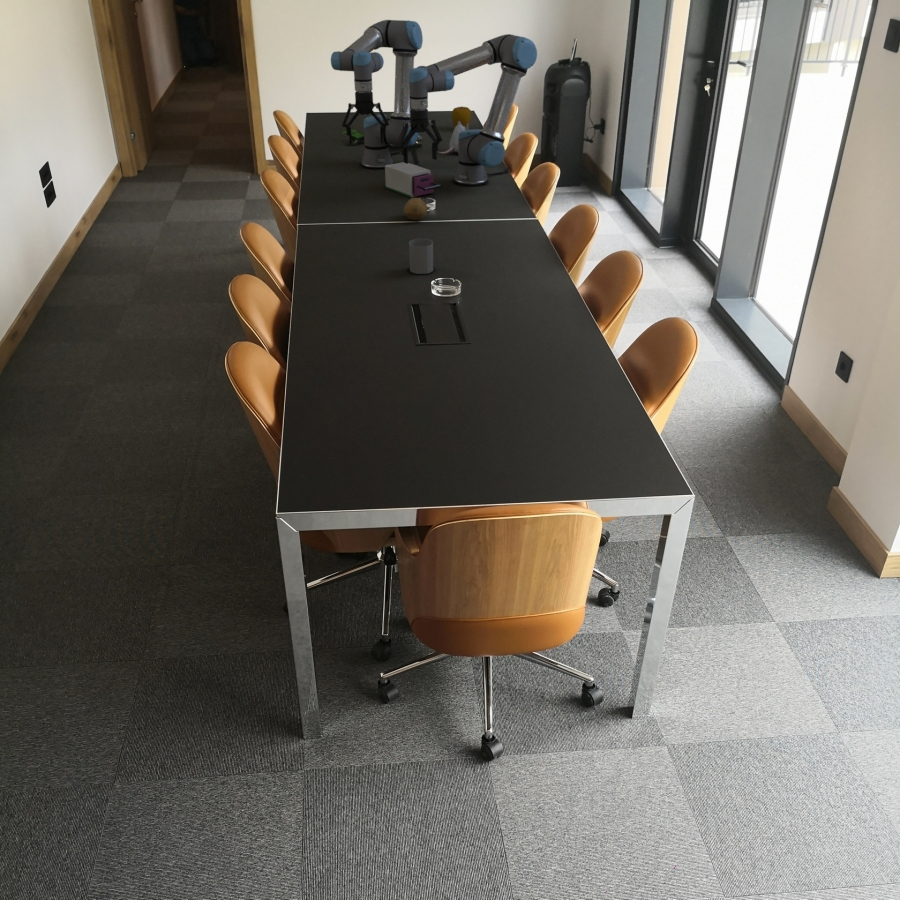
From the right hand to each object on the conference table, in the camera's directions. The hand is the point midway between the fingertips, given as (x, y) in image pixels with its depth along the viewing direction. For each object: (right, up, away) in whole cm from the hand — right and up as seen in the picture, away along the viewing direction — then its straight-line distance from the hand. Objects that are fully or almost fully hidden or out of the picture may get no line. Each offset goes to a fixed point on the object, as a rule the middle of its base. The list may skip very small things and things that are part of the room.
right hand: (420, 161), depth 371 cm
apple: (+19, +57, +120) cm, 134 cm away
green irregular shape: (-31, +41, +95) cm, 108 cm away
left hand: (-24, +11, +9) cm, 28 cm away
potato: (-1, -29, -15) cm, 33 cm away
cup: (+3, -60, -63) cm, 87 cm away
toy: (+14, +27, +73) cm, 79 cm away
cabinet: (-6, -7, +20) cm, 22 cm away
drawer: (-2, -8, +15) cm, 18 cm away
